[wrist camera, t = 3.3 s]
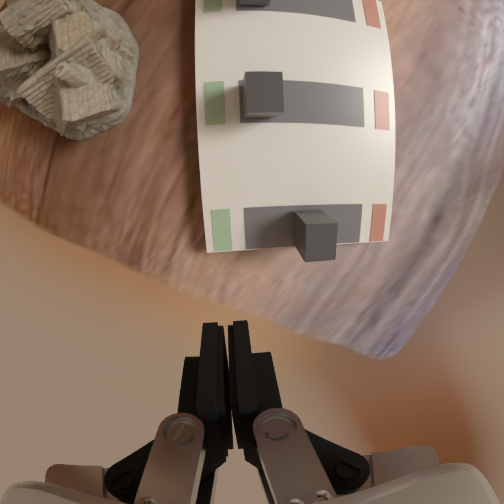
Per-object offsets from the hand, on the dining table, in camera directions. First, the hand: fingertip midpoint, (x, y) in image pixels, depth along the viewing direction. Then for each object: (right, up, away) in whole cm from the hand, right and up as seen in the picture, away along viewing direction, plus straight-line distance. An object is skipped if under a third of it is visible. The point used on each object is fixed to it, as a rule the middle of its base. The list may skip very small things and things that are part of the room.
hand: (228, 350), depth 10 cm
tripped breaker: (+6, +6, +14) cm, 16 cm away
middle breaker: (+1, +16, +9) cm, 19 cm away
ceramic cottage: (-18, +22, +8) cm, 29 cm away
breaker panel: (+5, +17, +12) cm, 21 cm away
